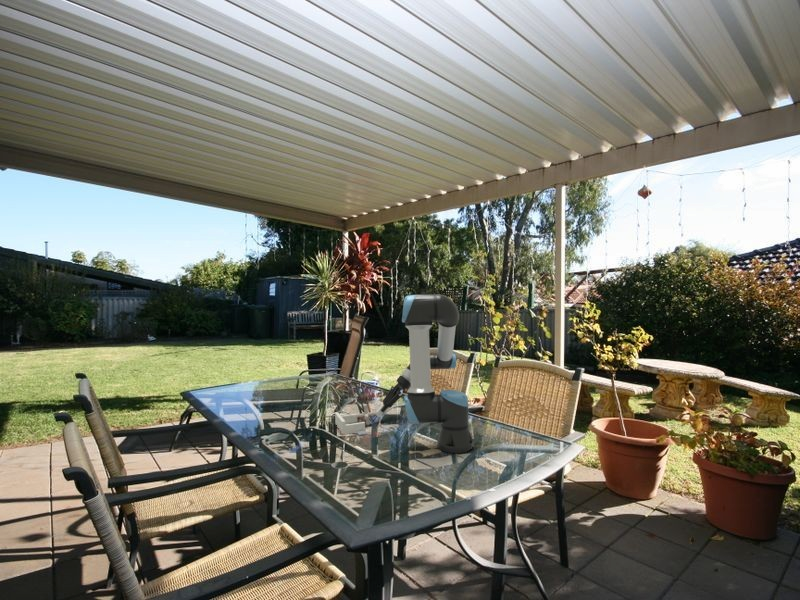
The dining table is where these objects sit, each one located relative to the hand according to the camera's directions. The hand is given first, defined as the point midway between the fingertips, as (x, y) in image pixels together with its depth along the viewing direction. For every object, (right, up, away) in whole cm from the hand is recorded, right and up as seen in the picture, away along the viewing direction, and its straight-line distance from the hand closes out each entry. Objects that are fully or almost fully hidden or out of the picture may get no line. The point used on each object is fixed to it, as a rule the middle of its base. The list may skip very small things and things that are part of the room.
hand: (376, 416), depth 214 cm
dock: (-13, -4, -6) cm, 15 cm away
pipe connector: (-4, -4, -2) cm, 6 cm away
